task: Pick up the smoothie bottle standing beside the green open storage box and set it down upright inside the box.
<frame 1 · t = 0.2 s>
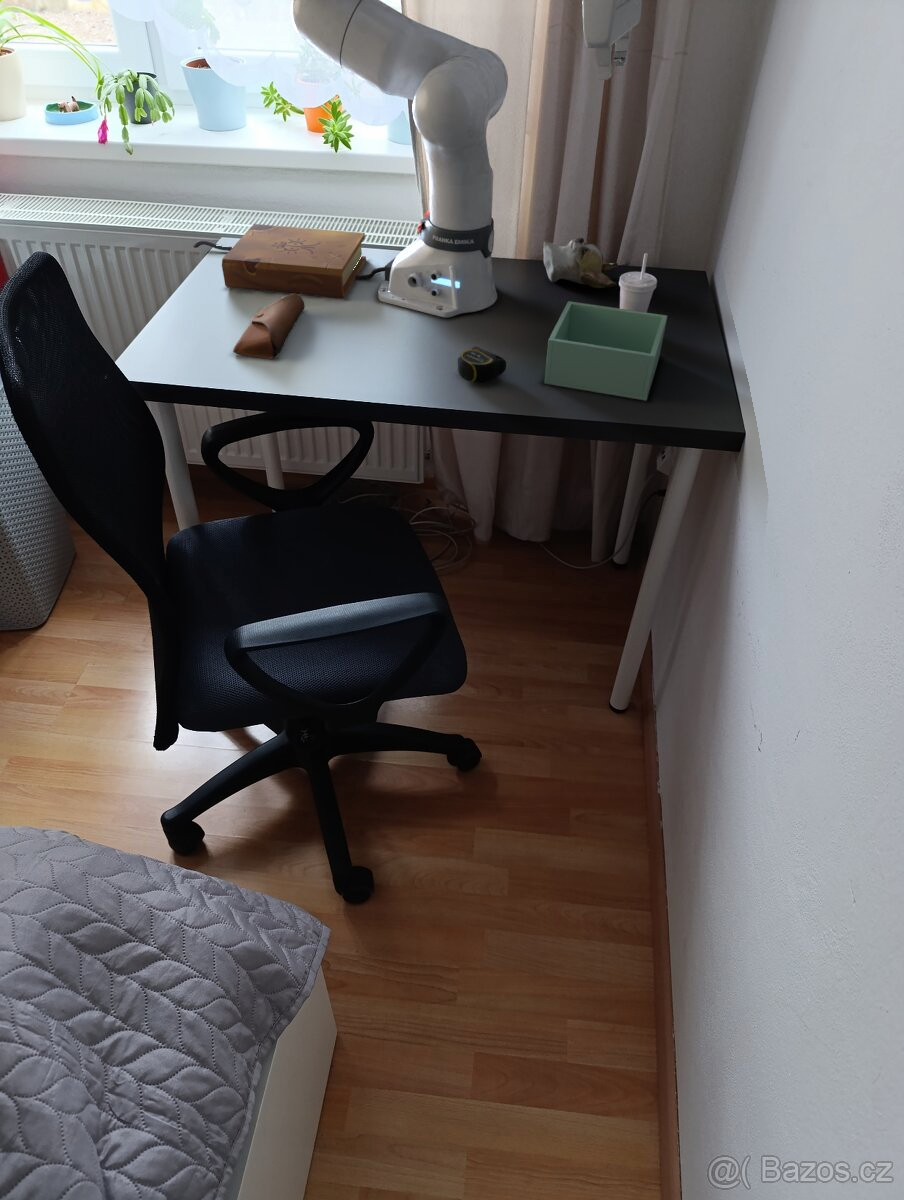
hand: (612, 71, 126), 39 cm above the table, tool pointing down, fingers open, 8 cm apart
diary: (298, 276, 164), on the table
sunglasses case: (271, 334, 147), on the table
smoothie: (629, 333, 148), on the table
tape measure: (479, 376, 137), on the table
green open storage box: (602, 370, 138), on the table
ceramic sculpture: (577, 283, 163), on the table
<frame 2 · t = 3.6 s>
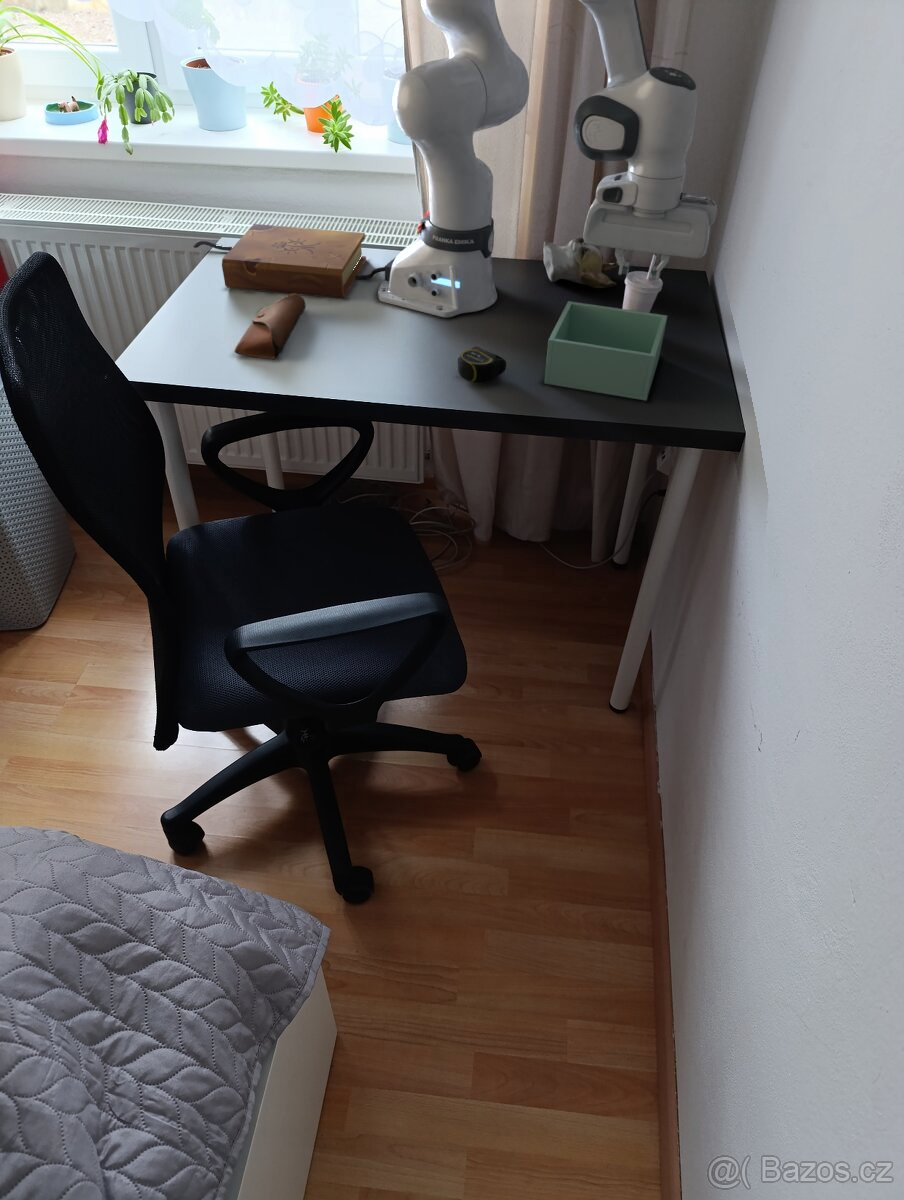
hand: (638, 276, 141), 10 cm above the table, tool pointing down, fingers closed on smoothie, 4 cm apart
smoothie: (629, 332, 148), on the table, touching gripper
everything else where it was.
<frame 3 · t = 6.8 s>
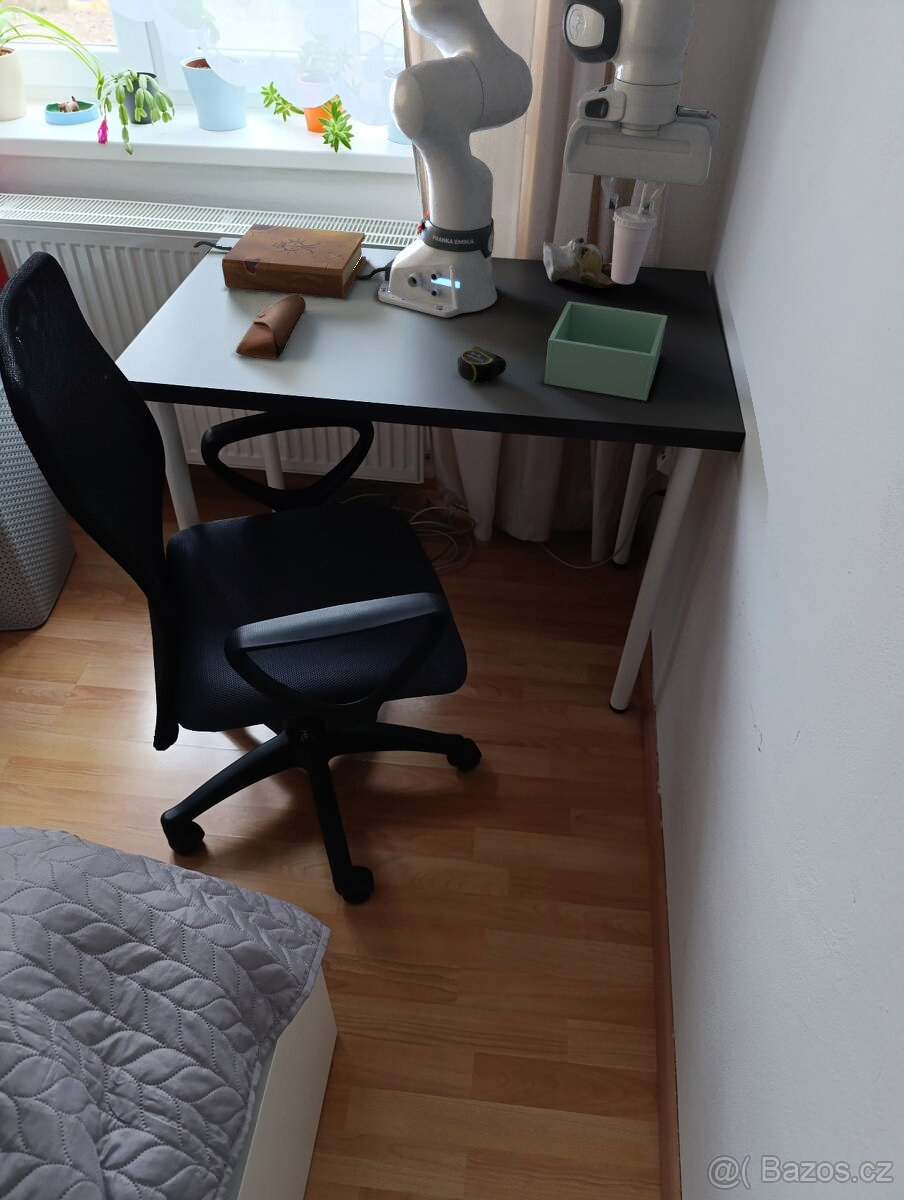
hand: (628, 210, 121), 25 cm above the table, tool pointing down, fingers closed on smoothie, 4 cm apart
smoothie: (622, 280, 128), point 15 cm above the table, touching gripper
everything else where it was.
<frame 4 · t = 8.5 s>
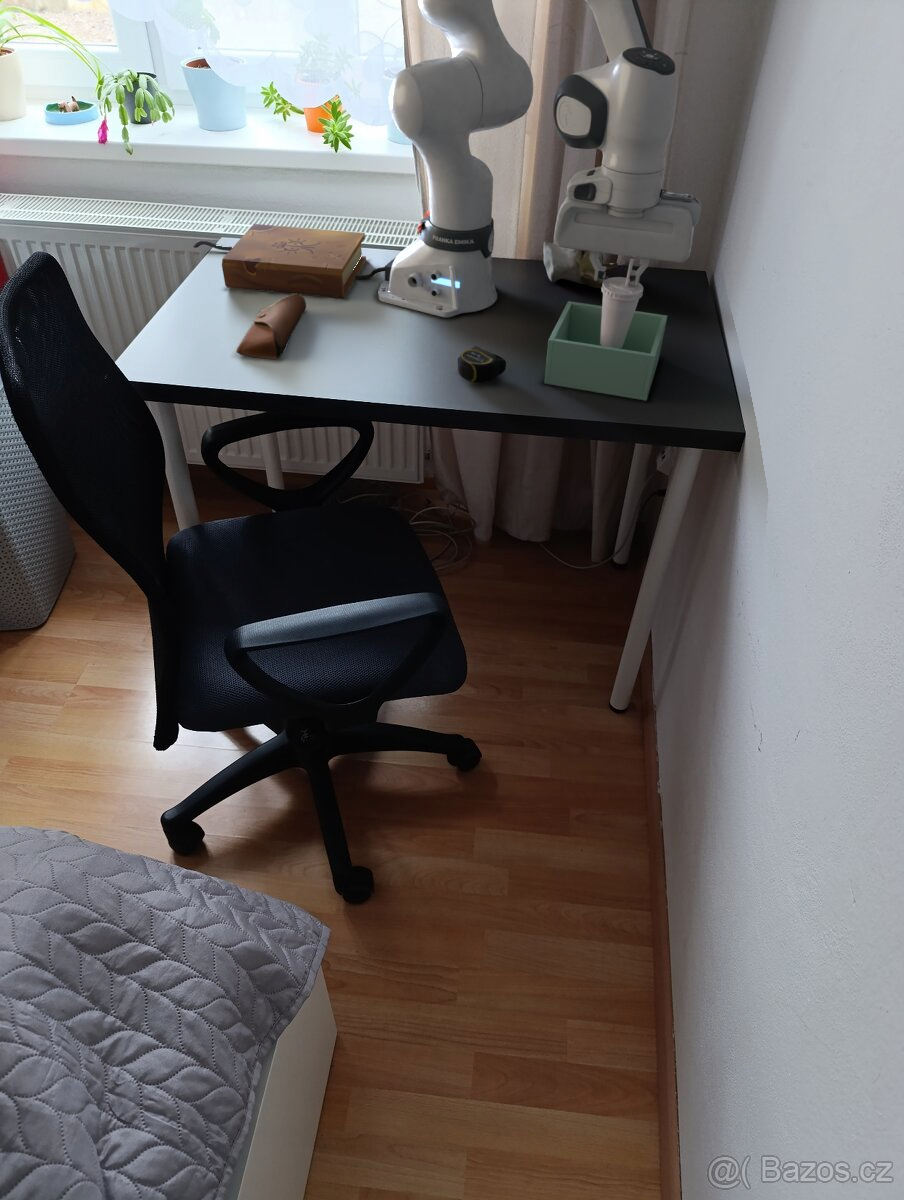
hand: (616, 282, 128), 15 cm above the table, tool pointing down, fingers closed on smoothie, 4 cm apart
smoothie: (611, 344, 135), point 5 cm above the table, touching gripper
everything else where it was.
when the fingers open (11 cm above the table, at t = 10.1 s): smoothie stays where it is, resting on green open storage box.
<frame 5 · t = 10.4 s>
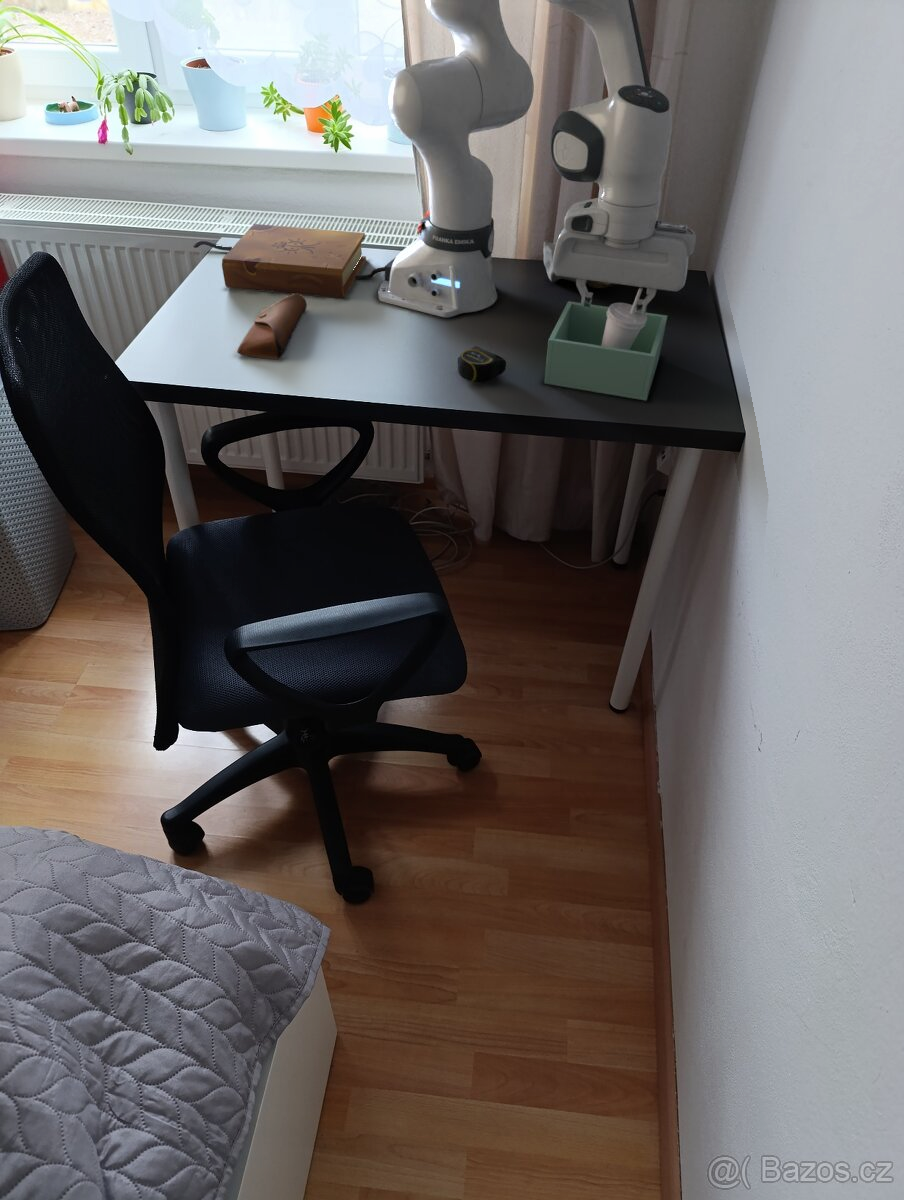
hand: (613, 309, 131), 11 cm above the table, tool pointing down, fingers open, 7 cm apart
smoothie: (607, 367, 138), point 1 cm above the table, touching gripper, green open storage box
everything else where it was.
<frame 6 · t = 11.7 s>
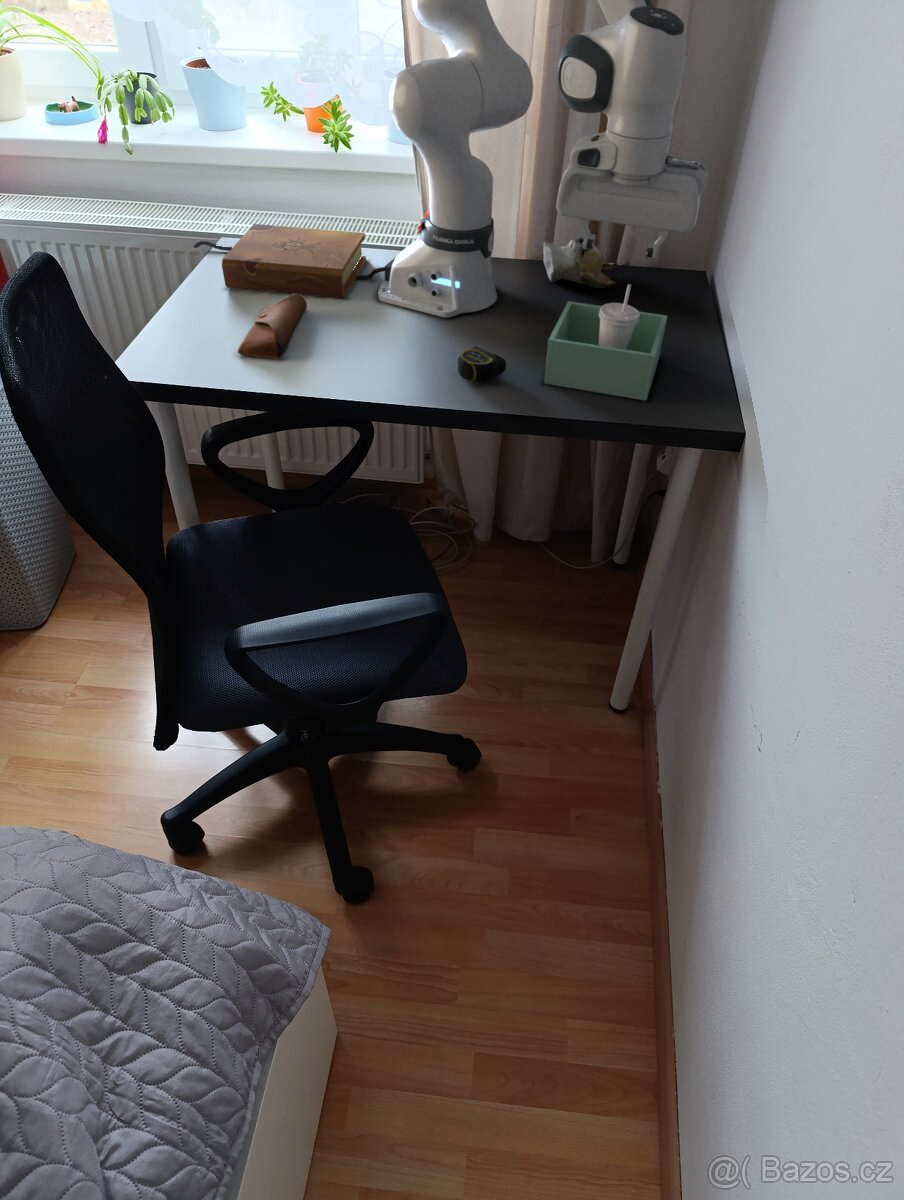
hand: (619, 252, 125), 19 cm above the table, tool pointing down, fingers open, 8 cm apart
smoothie: (607, 368, 138), point 1 cm above the table, touching green open storage box
everything else where it was.
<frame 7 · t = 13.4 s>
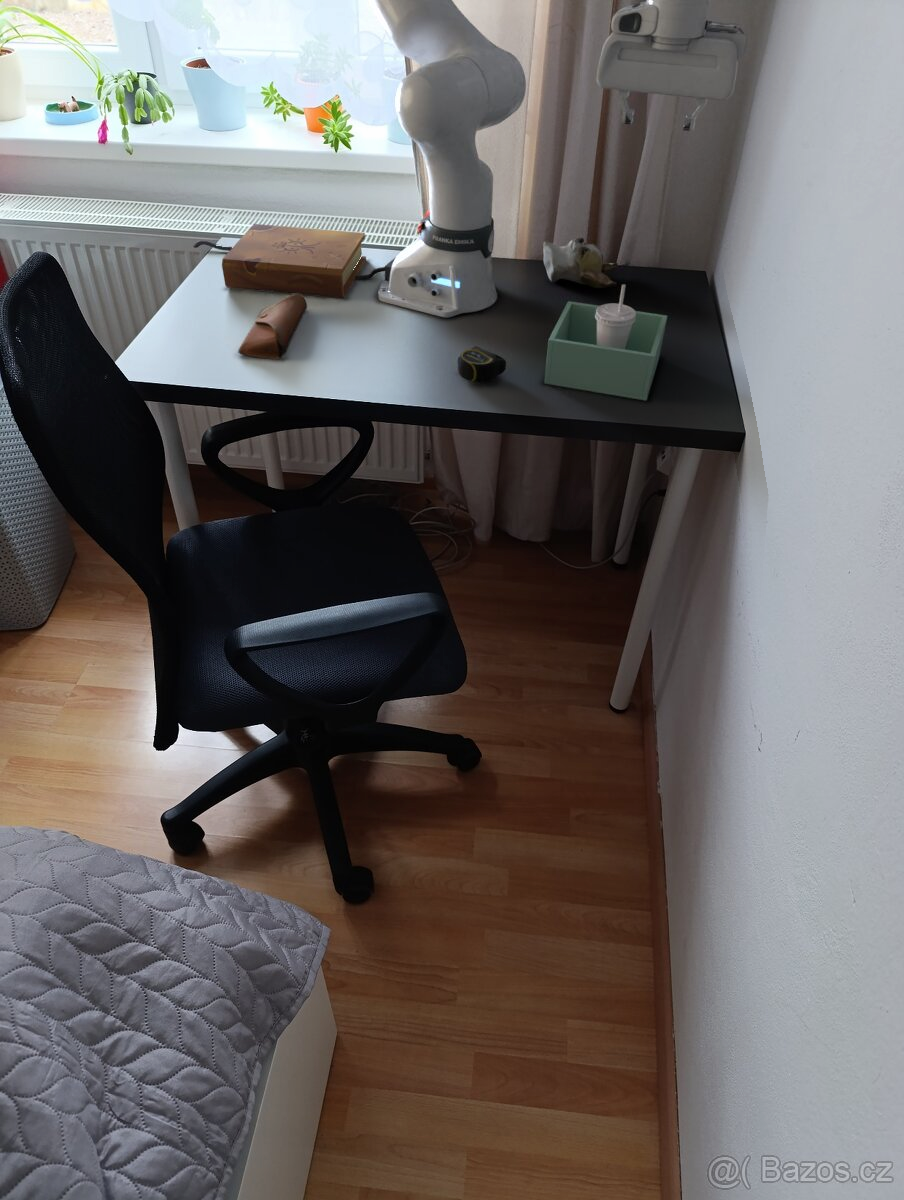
hand: (657, 126, 128), 32 cm above the table, tool pointing down, fingers open, 8 cm apart
nothing on the table moved.
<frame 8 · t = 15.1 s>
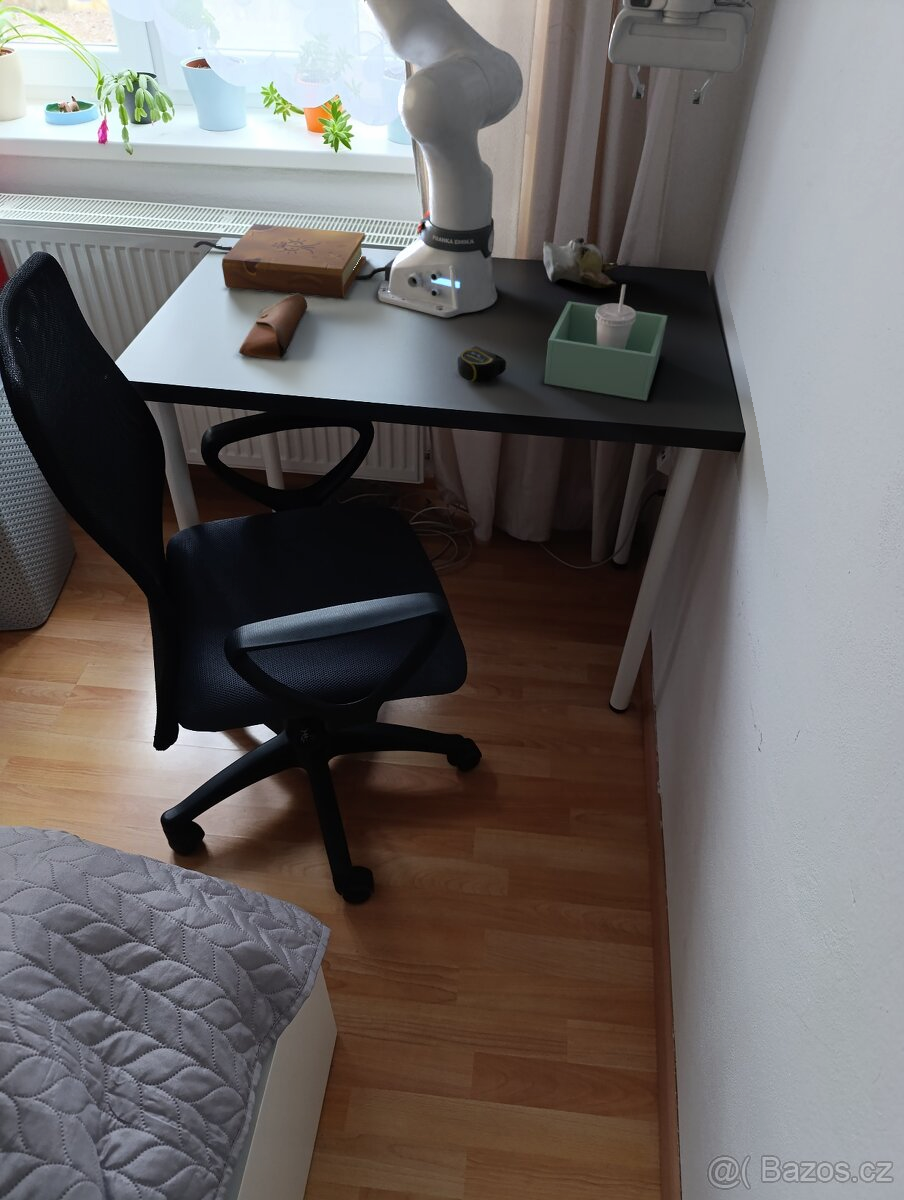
hand: (667, 100, 131), 34 cm above the table, tool pointing down, fingers open, 8 cm apart
nothing on the table moved.
at the end: smoothie inside the target area in the green open storage box (0.7 cm from its centre), point 0.4 cm above the green open storage box's base; smoothie tilted 0°; the gripper is holding nothing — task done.
